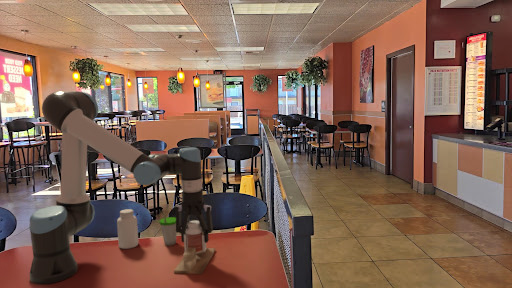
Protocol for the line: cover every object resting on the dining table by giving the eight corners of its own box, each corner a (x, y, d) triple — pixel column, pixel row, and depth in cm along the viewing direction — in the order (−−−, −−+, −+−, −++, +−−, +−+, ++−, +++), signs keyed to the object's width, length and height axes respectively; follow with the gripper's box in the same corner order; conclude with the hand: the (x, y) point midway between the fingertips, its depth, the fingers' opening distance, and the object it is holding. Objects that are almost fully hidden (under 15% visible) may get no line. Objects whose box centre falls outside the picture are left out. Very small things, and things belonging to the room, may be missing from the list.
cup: (174, 238, 169) (172, 205, 167) (183, 243, 163) (181, 209, 161) (157, 243, 164) (155, 209, 162) (166, 248, 158) (163, 213, 156)
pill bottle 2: (206, 251, 144) (205, 222, 142) (191, 255, 140) (189, 226, 139) (199, 246, 149) (198, 218, 147) (184, 250, 146) (183, 221, 144)
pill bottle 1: (142, 243, 164) (140, 209, 162) (127, 250, 157) (124, 215, 155) (130, 240, 168) (127, 207, 166) (114, 247, 161) (111, 212, 159)
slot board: (174, 273, 136) (172, 254, 135) (191, 250, 156) (190, 233, 155) (201, 274, 135) (200, 254, 134) (215, 250, 154) (214, 233, 153)
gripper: (163, 192, 139) (167, 253, 142) (215, 192, 137) (218, 255, 140) (170, 187, 147) (174, 245, 150) (220, 187, 144) (223, 246, 147)
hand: (195, 250), depth 145 cm, fingers closed on pill bottle 2, 6 cm apart
